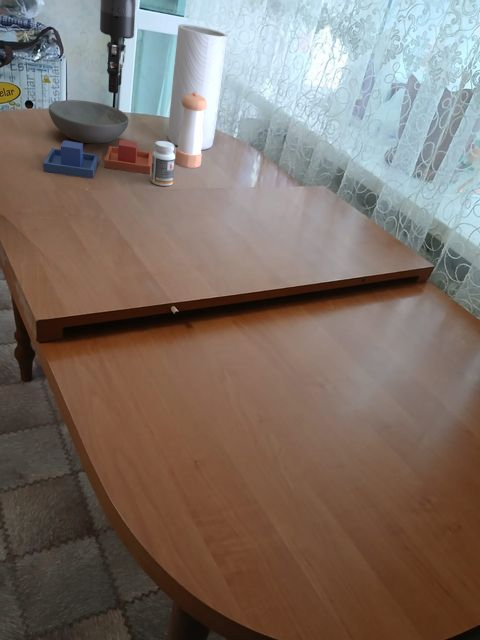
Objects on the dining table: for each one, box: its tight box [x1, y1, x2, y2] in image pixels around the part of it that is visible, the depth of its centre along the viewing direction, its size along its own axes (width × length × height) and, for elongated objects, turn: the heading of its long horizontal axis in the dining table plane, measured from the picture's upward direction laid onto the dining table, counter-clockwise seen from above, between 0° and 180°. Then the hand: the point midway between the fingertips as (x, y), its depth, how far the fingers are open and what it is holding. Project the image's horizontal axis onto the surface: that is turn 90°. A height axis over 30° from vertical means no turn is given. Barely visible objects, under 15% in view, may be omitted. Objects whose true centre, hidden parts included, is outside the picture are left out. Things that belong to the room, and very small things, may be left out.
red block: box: [117, 139, 138, 163], centre depth 145 cm, size 5×5×5 cm
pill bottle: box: [150, 140, 176, 187], centre depth 138 cm, size 6×6×10 cm
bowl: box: [48, 99, 130, 145], centre depth 154 cm, size 21×21×8 cm
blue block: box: [60, 140, 84, 167], centre depth 136 cm, size 5×5×5 cm
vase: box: [167, 23, 228, 151], centre depth 162 cm, size 14×14×32 cm
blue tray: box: [42, 147, 99, 179], centre depth 137 cm, size 12×12×2 cm
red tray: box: [104, 145, 153, 175], centre depth 147 cm, size 12×12×2 cm
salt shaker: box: [175, 92, 208, 169], centre depth 151 cm, size 7×7×19 cm
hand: (114, 88), depth 131 cm, fingers open, 8 cm apart
